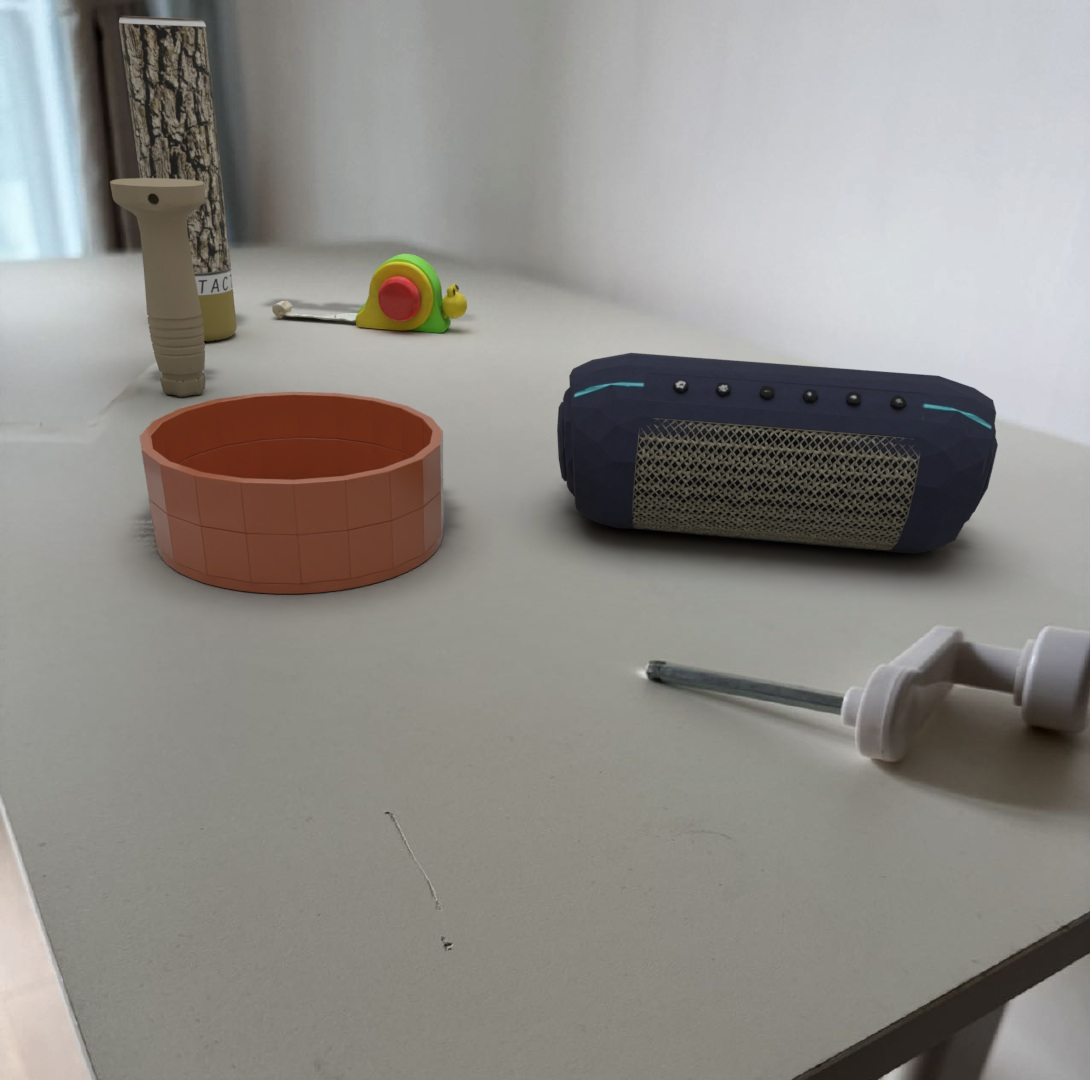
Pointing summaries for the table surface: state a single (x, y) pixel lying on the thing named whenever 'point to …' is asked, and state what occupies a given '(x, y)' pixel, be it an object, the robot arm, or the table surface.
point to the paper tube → (182, 144)
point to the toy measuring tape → (400, 299)
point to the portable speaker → (775, 451)
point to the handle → (169, 276)
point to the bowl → (295, 490)
